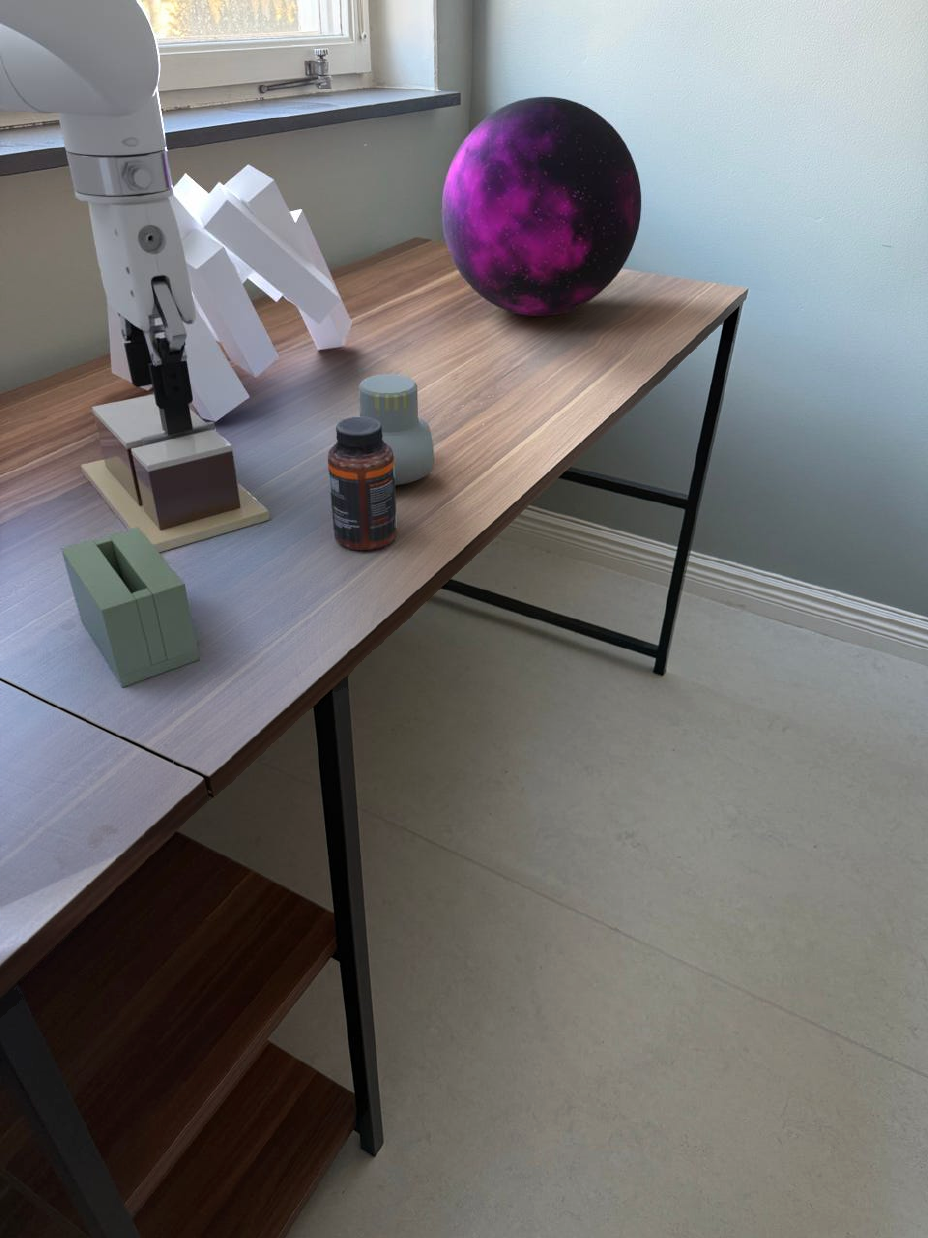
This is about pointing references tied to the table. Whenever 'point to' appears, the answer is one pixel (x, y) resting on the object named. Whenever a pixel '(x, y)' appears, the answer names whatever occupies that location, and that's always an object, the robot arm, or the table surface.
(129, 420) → the cake
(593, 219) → the purple galaxy ball
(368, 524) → the supplement bottle
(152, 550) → the knife block
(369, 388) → the air freshener
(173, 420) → the knife
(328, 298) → the pile of blocks
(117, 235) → the robot arm
